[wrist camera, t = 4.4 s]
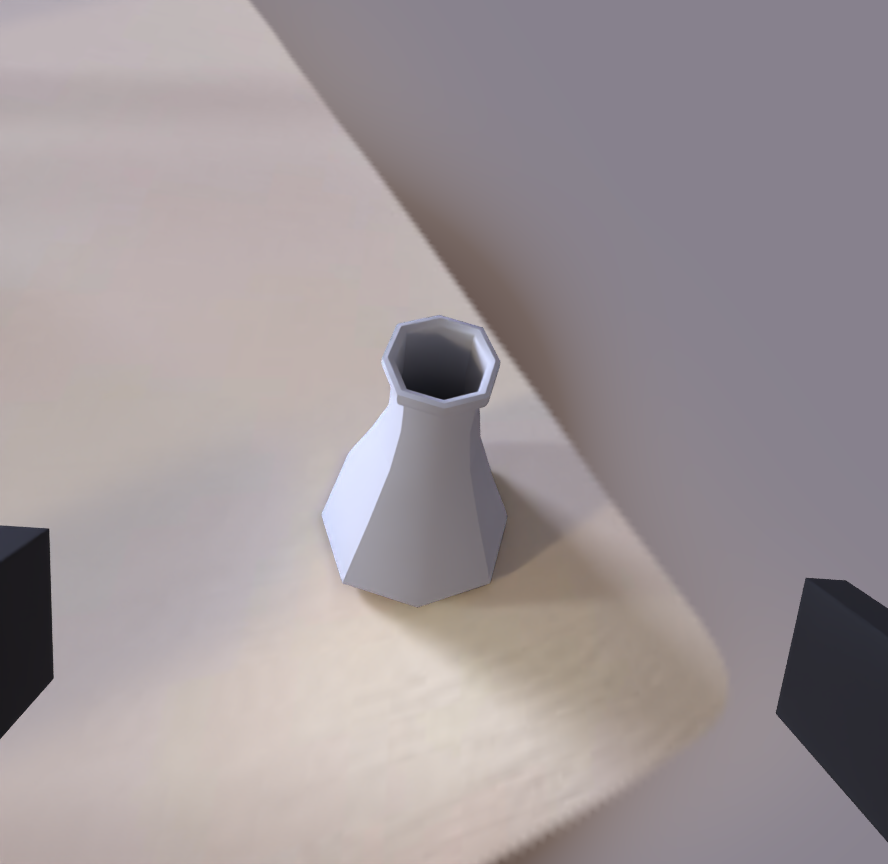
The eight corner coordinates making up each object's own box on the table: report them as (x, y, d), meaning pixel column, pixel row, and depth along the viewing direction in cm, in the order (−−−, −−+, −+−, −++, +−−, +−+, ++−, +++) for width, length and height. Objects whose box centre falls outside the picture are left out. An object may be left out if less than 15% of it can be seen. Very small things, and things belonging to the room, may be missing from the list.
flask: (498, 442, 29) (556, 269, 20) (515, 609, 25) (594, 480, 17) (327, 438, 28) (313, 256, 20) (316, 610, 24) (293, 474, 16)
